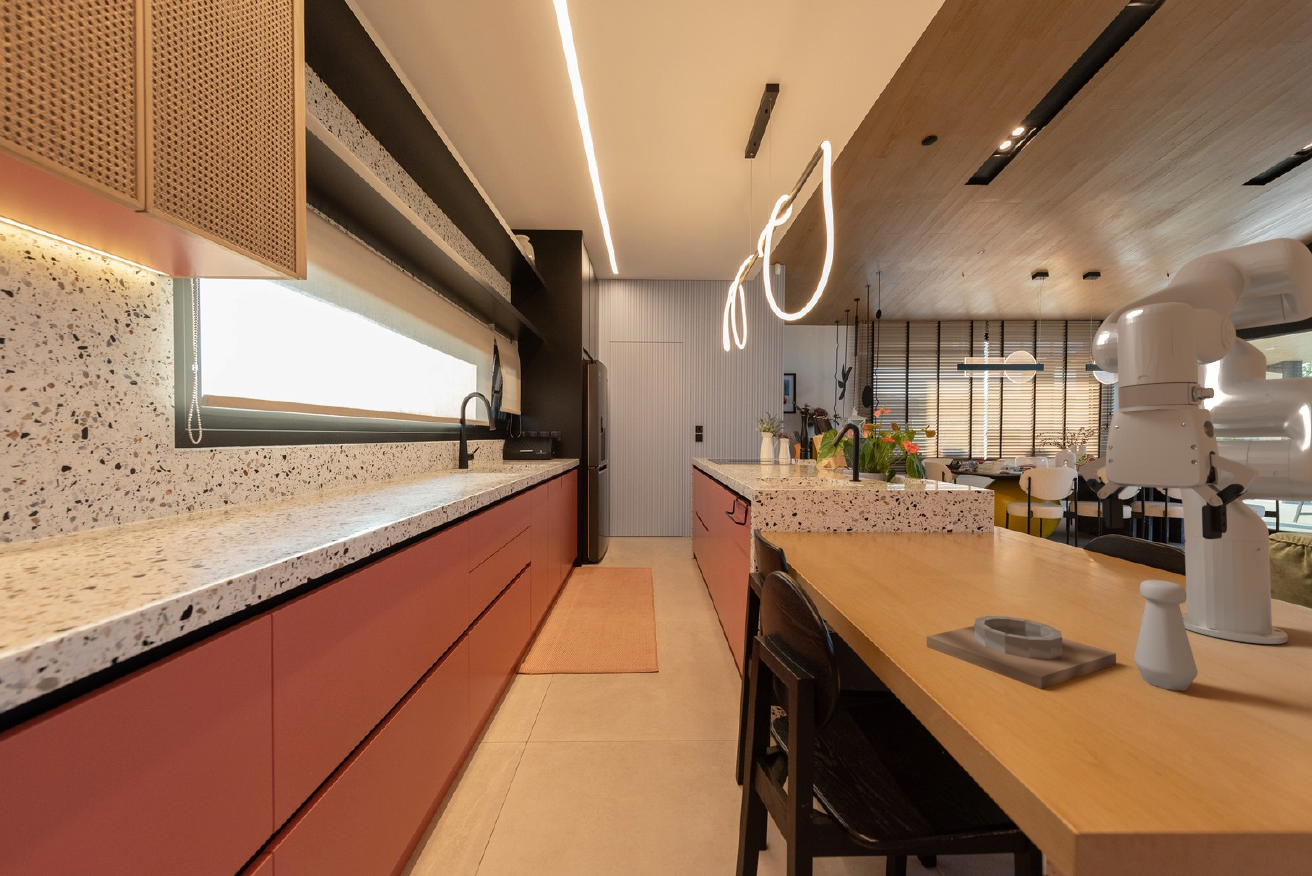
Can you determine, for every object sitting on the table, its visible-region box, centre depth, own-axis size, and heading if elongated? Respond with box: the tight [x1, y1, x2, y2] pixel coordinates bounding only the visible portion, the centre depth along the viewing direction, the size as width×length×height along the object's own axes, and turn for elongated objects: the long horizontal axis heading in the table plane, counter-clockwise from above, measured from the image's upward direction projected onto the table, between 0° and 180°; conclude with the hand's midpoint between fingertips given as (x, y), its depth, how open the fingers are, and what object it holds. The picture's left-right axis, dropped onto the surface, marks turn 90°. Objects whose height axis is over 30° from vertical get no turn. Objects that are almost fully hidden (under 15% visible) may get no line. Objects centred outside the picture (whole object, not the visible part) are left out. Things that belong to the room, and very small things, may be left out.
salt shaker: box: [1133, 579, 1198, 692], centre depth 67 cm, size 6×6×13 cm
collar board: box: [926, 615, 1117, 690], centre depth 76 cm, size 18×16×4 cm
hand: (1160, 532), depth 67 cm, fingers open, 9 cm apart
